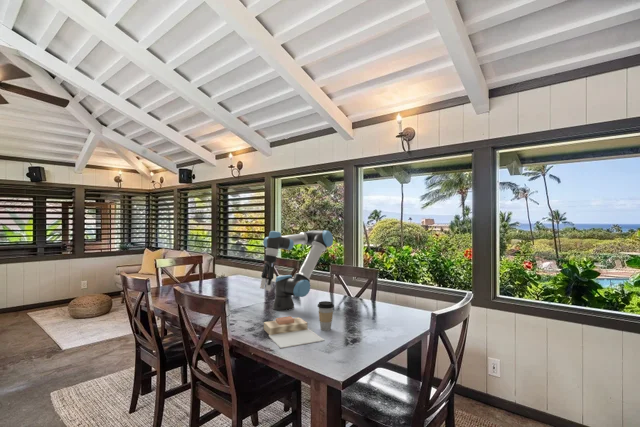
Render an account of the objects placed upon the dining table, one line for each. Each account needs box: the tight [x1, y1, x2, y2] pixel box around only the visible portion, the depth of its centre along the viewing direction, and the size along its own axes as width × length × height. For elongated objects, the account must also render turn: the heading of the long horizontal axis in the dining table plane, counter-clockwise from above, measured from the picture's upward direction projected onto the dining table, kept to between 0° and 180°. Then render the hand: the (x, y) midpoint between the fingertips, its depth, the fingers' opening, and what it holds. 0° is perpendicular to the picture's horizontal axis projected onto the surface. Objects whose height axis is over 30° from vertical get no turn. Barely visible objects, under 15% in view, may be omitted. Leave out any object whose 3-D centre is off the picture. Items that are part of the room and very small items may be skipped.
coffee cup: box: [317, 300, 335, 332], centre depth 186 cm, size 9×9×15 cm
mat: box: [268, 328, 325, 349], centre depth 171 cm, size 24×19×1 cm
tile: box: [275, 316, 295, 325], centre depth 185 cm, size 9×6×2 cm, turn 117°
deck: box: [263, 317, 309, 336], centre depth 184 cm, size 22×12×4 cm, turn 117°
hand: (264, 289), depth 200 cm, fingers open, 13 cm apart
